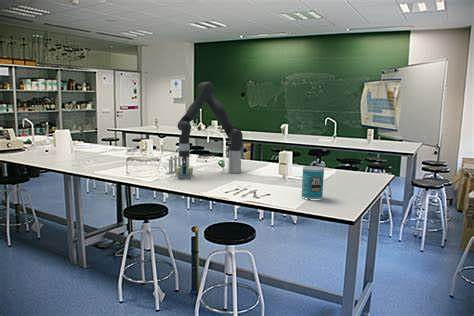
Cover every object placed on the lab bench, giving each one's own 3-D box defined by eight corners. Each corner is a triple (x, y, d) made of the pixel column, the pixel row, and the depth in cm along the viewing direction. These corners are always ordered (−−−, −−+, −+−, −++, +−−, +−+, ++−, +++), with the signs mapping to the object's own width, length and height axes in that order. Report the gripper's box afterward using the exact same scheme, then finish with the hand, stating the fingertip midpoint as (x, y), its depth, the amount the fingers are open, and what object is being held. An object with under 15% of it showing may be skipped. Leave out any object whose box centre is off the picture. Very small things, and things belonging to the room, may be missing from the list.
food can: (317, 202, 209) (318, 170, 206) (297, 198, 216) (299, 168, 213) (325, 197, 219) (327, 167, 216) (306, 194, 225) (308, 165, 222)
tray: (190, 176, 268) (190, 172, 268) (191, 179, 259) (191, 175, 259) (177, 176, 267) (177, 173, 266) (177, 179, 258) (177, 175, 257)
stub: (188, 173, 265) (188, 165, 264) (188, 174, 261) (188, 166, 260) (180, 173, 265) (179, 165, 264) (180, 174, 260) (179, 166, 259)
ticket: (192, 174, 274) (192, 166, 272) (192, 176, 269) (192, 167, 268) (175, 174, 272) (175, 166, 271) (175, 176, 267) (175, 168, 266)
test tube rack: (170, 174, 273) (170, 157, 271) (166, 173, 275) (165, 156, 273) (192, 169, 294) (192, 153, 292) (187, 168, 296) (187, 152, 294)
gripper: (189, 151, 253) (189, 175, 256) (189, 148, 267) (189, 171, 270) (178, 151, 252) (178, 175, 255) (178, 148, 266) (179, 171, 269)
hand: (184, 173), depth 263 cm, fingers closed on stub, 5 cm apart
